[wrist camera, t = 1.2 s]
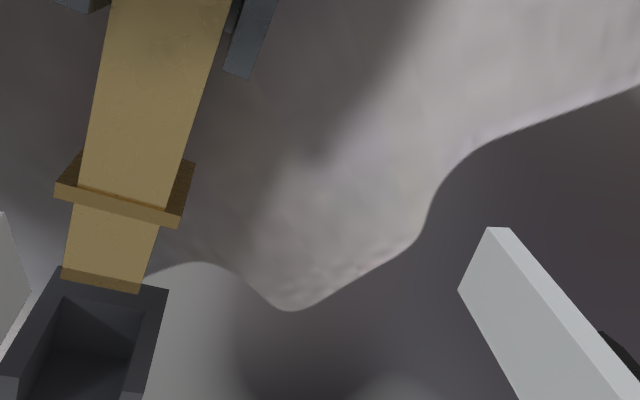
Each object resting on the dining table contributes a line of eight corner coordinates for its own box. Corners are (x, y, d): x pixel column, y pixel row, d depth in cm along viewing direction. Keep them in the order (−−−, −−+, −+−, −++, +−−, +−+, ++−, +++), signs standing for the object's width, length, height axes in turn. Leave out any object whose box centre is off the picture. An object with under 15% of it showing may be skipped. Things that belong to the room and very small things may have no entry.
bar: (79, 214, 29) (40, 277, 24) (214, -460, 15) (190, -678, 10) (170, 237, 31) (152, 300, 26) (365, -333, 17) (414, -453, 12)
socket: (46, 328, 39) (-14, 441, 31) (58, 265, 35) (-7, 374, 27) (148, 345, 42) (120, 452, 34) (169, 289, 39) (143, 393, 30)
